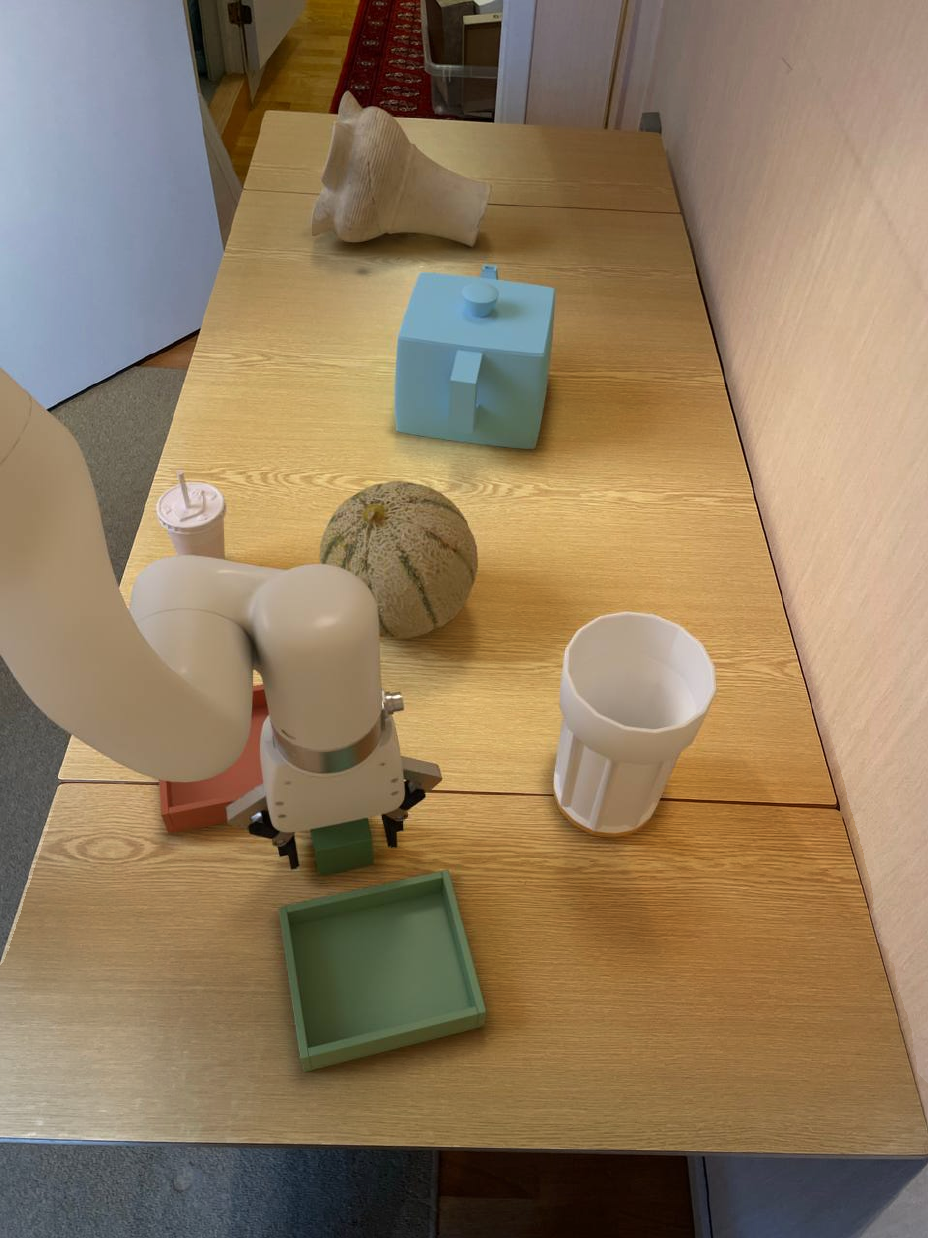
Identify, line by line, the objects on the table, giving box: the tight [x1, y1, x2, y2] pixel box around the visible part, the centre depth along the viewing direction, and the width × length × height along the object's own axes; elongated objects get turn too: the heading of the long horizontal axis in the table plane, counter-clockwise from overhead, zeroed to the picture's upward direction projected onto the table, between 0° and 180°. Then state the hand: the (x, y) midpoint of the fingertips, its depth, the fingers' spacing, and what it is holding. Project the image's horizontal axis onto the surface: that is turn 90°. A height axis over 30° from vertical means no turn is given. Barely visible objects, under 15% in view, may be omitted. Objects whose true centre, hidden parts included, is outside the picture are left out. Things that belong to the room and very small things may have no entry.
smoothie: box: [155, 469, 227, 560], centre depth 94 cm, size 6×6×14 cm
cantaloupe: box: [318, 480, 479, 639], centre depth 92 cm, size 15×15×15 cm
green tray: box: [278, 869, 487, 1073], centre depth 73 cm, size 13×11×3 cm
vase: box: [310, 90, 492, 248], centre depth 137 cm, size 22×22×28 cm
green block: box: [309, 817, 375, 878], centre depth 79 cm, size 4×4×4 cm
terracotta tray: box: [158, 683, 269, 834], centre depth 84 cm, size 11×11×3 cm
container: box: [394, 263, 556, 450], centre depth 114 cm, size 17×25×15 cm
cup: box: [552, 610, 718, 838], centre depth 78 cm, size 11×11×17 cm
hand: (341, 841), depth 80 cm, fingers open, 7 cm apart
